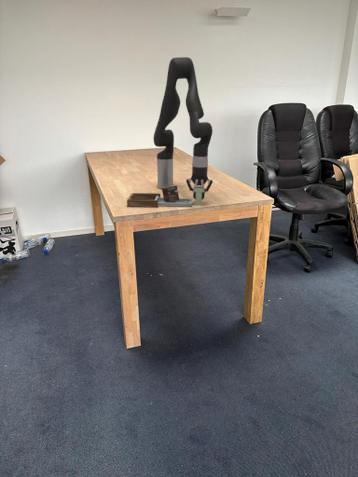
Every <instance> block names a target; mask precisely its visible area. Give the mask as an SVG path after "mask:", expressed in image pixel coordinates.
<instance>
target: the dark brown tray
mask: <svg viewBox="0 0 358 477" xmlns="http://www.w3.org/2000/svg"><path fill="white" fill-rule="evenodd" d="M161 195H162V194H161V193H155V192H154V193H151V192H148V193H147V192H132V193H131V194H130V195H129V196H128V198H127V199H126V207H127V208H156V209H157V208H159V206H158V202H159V201H158V200H155V198H156V196H159V197H161ZM161 198H162V197H161Z"/></svg>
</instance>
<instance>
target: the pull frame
mask: <svg viewBox="0 0 358 477" xmlns="http://www.w3.org/2000/svg"><path fill="white" fill-rule="evenodd" d="M155 200H158V207H178V208H179V207H182V208H184V207H185V208H192V205H193V206H202V203H203V201H202V186H197V188H196V199H195V201H193V198H184V197H179V200H177V201H176V202H164V198H163V197H159V196H156V198H155Z"/></svg>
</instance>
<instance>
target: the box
mask: <svg viewBox="0 0 358 477" xmlns="http://www.w3.org/2000/svg"><path fill="white" fill-rule="evenodd" d="M161 191H162V192H161V193H162V196H163V197H162V198H164V201H163V202H165V203H174V202H178V201H177V200H179V198H180V195H179V190H178V186H177V185H173V186H168V187H164V188H162V189H161Z"/></svg>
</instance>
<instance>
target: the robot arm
mask: <svg viewBox="0 0 358 477" xmlns="http://www.w3.org/2000/svg"><path fill="white" fill-rule="evenodd" d="M195 70H196V69H195V64H194V62H193V60H192V58H190V57H187V56H185V57H183V56H182V57H173V58H171V59H170V61H169V64H168V68H167V75H166V76H167V77H166V84H165V88H164V94H163V98H162V103H161V107H160V112H159V117H158V121H157V123H156V127H155V130H154V133H153V144H154V145H155V147H159V148H164V147H165V148H164V149H163V150H162V151H160V152H158V153H157V154H156V162H157V163H156V164H157V165H156V167H157V168H156V170H157V189H159V190H162V188H164V187H168V186H174V146H175V145H174V144H175V135H174V134H175V133H174V132H173V130H172V129H167V127H168V126H169V125H170V124H172V122H173V121H174V120H175V119H176V117H177V116H178V113H179V110H180V107H181V99H180V95H179V93H178V91H177V82H178V80H181V79H183V80H184V79H185V80H186V82H187V85H188V89H187V93H186V96H185V106H186V109H187V114H188V116H189V132H190V135H191V136H192V137H193V138H194V139H200V140H199V141H198V142H196V143H194V144H193V149H192V150H193V151H192V155H193V156H192V163H191V164H192V168H191V169H192V171H191V177H190V178H186V180H185V182H186V184H187V188H188V189H189V191H190V192H192V193H193V194H192V195H193V196H192V199H193V200H196V188H197V186H200V187H202V200H204V199H205V194H206V192H209V191H210V188H211V186H212V184H213V179H210V178H209V177H208V166H209V158H208V156H209V147H210V143H211V139H212V135H213V126H212V124H211V123H210V122H208V121H207V122H206V121H203V122H200V119H203V117H204V115H205V113H204V108H203V106H202V102H201V99H200V95H199V89H198V81H197V76H196V71H195ZM191 183H193V187H192V184H191ZM206 183H207V186H206V188H205V184H206Z"/></svg>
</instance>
